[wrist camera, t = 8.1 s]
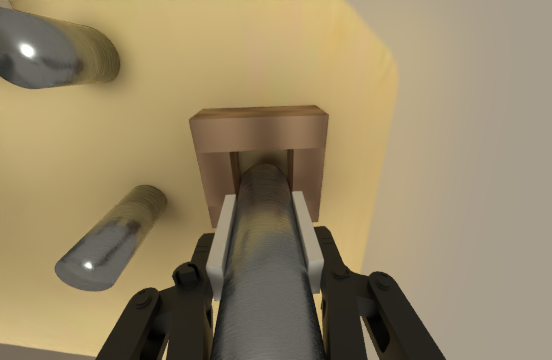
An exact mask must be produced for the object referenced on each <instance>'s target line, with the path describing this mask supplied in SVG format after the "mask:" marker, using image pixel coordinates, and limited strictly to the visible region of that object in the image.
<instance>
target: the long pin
mask: <svg viewBox="0 0 552 360" xmlns="http://www.w3.org/2000/svg"><path fill="white" fill-rule="evenodd" d="M210 360H327V357H326V352H325V348H324V343H323V339H322V334H321V330H320V325H319V321H318V317H317V312H316V308H315V303H314V299H313V294H312V290H311V285H310V281H309V276H308V272H307V267H306V263H305V258H304V254H303V249H302V245H301V241H300V236H299V232H298V227H297V223H296V218H295V214H294V209H293V205H292V200H291V196H290V191H289V187H288V182H287V178H286V176H285V174H284V173H283V171H282V170H281V169H279V168H278V167H276V166H274V165H271V164H258V165H255V166H253V167H251V168H249V169H248V170H247V171H246V172H245V173H244V175H243V177H242V180H241V185H240V191H239V197H238V202H237V208H236V214H235V219H234V225H233V231H232V236H231V242H230V247H229V253H228V259H227V264H226V270H225V276H224V281H223V287H222V293H221V298H220V304H219V310H218V315H217V321H216V327H215V332H214V338H213V344H212V349H211V355H210Z"/></svg>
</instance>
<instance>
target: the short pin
mask: <svg viewBox="0 0 552 360" xmlns="http://www.w3.org/2000/svg"><path fill="white" fill-rule="evenodd" d="M119 69H120V60H119V56H118V53H117V51H116V49H115V47H114V46H113V44H112V43H111V41H110V40H109V39H108V38H107V37H106V36H105V35H103V34H102V33H101V32H99V31H98V30H96V29H93V28H91V27H87V26H82V25H78V24H74V23H69V22H65V21H60V20H56V19H52V18H47V17H43V16H38V15H34V14H30V13H25V12H21V11H16V10H12V9H8V8H3V7H0V76H1V77H2V78H3V79H5V80H7V81H8V82H10V83H12V84H15V85H17V86H20V87H23V88H28V89H41V88H51V87H60V86H70V85H80V84H90V83H100V82H108V81H111V80H113V79H114V78H115V77H116V76H117V74H118V72H119Z"/></svg>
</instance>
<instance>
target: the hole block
mask: <svg viewBox="0 0 552 360" xmlns="http://www.w3.org/2000/svg"><path fill="white" fill-rule="evenodd" d="M328 117H329V115H328V114H327V113H325V112H324V111H323V110H321V109H320V108H318V107H317V106H316V105H312V106H282V107H251V108H221V109H202V110H201V111H200V112H198V113H197V114H196V115H194V116H193V117H192V118H190V119H189V124H190V128H191V133H192V137H193V142H194V146H195V151H196V155H197V160H198V165H199V169H200V174H201V178H202V183H203V187H204V192H205V196H206V201H207V205H208V210H209V214H210V219H211V223H212V228H217V225H218V221H219V218H220V214H221V210H222V207H223V203H224V200H225V196H226V195H234V194H236V200H237V202H238V197H239V191H240V185H241V182H240V174H239V165H238V157H237V151H259V150H282V149H288V165H287V182H288V187H289V191H290V196H291V200H292V192H294V191H302V193H303V196H304V200H305V203H306V206H307V209H308V212H309V215H310V218H311V221H312V222H318V217H319V207H320V197H321V187H322V177H323V167H324V157H325V147H326V137H327V127H328Z"/></svg>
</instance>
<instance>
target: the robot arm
mask: <svg viewBox="0 0 552 360" xmlns="http://www.w3.org/2000/svg"><path fill="white" fill-rule="evenodd" d="M292 205H293V209H294V214H295V218H296V223H297V227H298V232H299V236H300V241H301V245H302V249H303V254H304V258H305V263H306V267H307V272H308V276H309V281H310V285H311V290H312V294H317V293H320V289H321V292H322V303H321V310H322V327H323V343H324V348H325V352H326V357H327V360H368V359H367V354H366V349H365V343H364V337H363V332H362V326H361V321H360V316H362V319H363V321H364V323H365V326H366V328H367V331H368V333H369V335H370V338H371V340H372V343H373V345H374V347H375V350H376V352H377V355H378V357H379V359H380V360H446V359H445V357H444V356H443V354H442V352H441V351H440V349H439V348H438V346H437V345H436V343H435V342H434V340H433V338H432V337H431V336H430V334H429V332H428V331H427V329H426V328H425V326H424V325H423V323H422V321H421V320H420V318H419V317H418V315H417V314H416V312H415V311H414V309H413V308H412V306H411V305H410V303H409V301H408V300H407V299H406V297H405V295H404V294H403V292H402V290H401V289H400V287H399V286H398V284H397V283H396V281H395V280H394V279H393V278H392V277H391V276H389V275H388V274H386V273H383V272H378V271H377V272H373V273H371V274H370V275H369V276H365V275H361V274H357V273H354V272H352V271H350V269H349V268H348V267H347V266H345V265H344V263H343V261H342V259H341V256H340V254H339V251H338V249H337V246H336V244H335V242H334V239H333V237H332V234H331V232H330V231H329V230H328V229H327V228H326V227H325V226H320V227H313V224H312V221H311V218H310V215H309V212H308V209H307V206H306V203H305V200H304V196H303V193H302V191H294V192H292ZM236 208H237V200H236V194H234V195H226V196H225V200H224V203H223V207H222V210H221V214H220V218H219V221H218V225H217V228H216V232H215V233H208V234H203V235H202V236H201V238H200V239H199V240H198V243H197V245H196V248H195V251H194V254H193V256H192V259H191V262H186V263H183V264H182V265H180V266H179V267H177V268H176V270H175V271H174V272H173V275H172V277H173V280H174V282H175V286H173V287H170V288H167V289H165V290H162V291H159V292H158V290H157V289H155V288H151V287H150V288H145V289H143V290H141V291H139V292H138V293H136V294H135V295H134V296H133V297H132V298H131V300H130V301H129V302H128V304H127V306H126V308H125V309H124V311H123V313H122V314H121V316H120V318H119V320H118V321H117V323H116V325H115V326H114V328H113V330H112V332H111V333H110V335H109V337H108V338H107V340H106V342H105V344H104V345H103V347H102V349H101V350H100V352H99V354H98V356H97V357H96V359H95V360H162V357H163V354H164V351H165V348H166V346H167V343H168V349H167V356H166V360H210V355H211V349H212V344H213V309H212V305H211V304H212V299H213V297H214V300H215V301H220V298H221V293H222V287H223V281H224V276H225V270H226V264H227V259H228V253H229V247H230V242H231V236H232V231H233V225H234V219H235V214H236ZM168 340H169V342H168Z"/></svg>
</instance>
